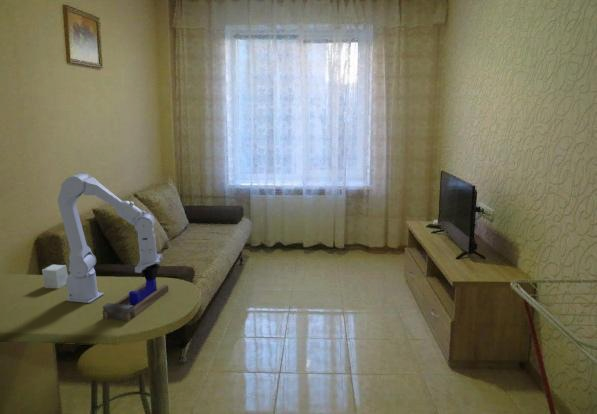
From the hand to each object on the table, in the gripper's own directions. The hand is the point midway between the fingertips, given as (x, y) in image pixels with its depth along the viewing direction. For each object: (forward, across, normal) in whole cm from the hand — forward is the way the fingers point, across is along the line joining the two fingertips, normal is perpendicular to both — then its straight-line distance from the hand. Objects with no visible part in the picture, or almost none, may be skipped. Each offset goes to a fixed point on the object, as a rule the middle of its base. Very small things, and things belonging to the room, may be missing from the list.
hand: (151, 284), depth 166 cm
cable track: (+3, -9, 0) cm, 10 cm away
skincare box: (+4, 0, +41) cm, 41 cm away
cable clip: (+4, -7, -1) cm, 8 cm away
